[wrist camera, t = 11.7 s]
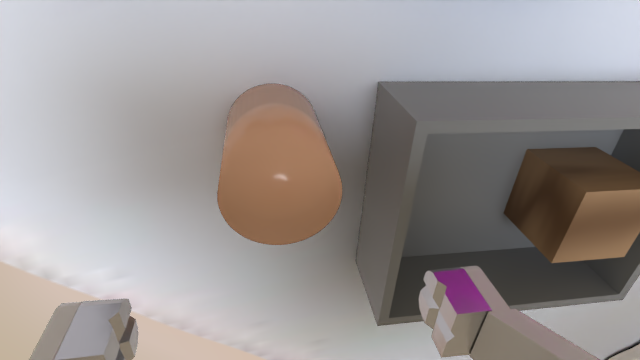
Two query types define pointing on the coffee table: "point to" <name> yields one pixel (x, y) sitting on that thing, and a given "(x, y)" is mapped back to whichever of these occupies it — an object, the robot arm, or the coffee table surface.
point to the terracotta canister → (276, 168)
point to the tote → (482, 188)
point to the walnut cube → (576, 203)
